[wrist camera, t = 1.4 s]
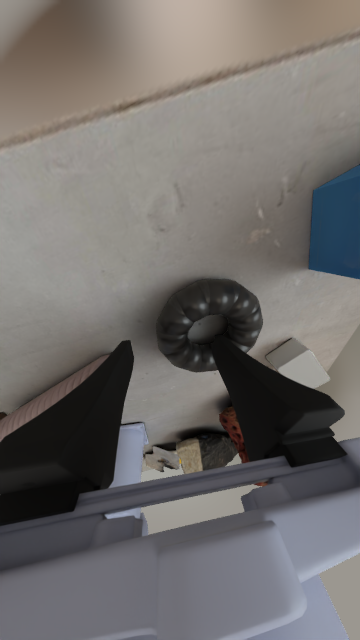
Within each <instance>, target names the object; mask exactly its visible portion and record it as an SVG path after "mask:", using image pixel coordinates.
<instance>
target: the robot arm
mask: <svg viewBox="0 0 360 640" xmlns="http://www.w3.org/2000/svg"><path fill="white" fill-rule="evenodd" d="M212 355H213V358H214V361H215V364H216V366H217V368H218V371H219V373H220V375H221V377H222V379H223V381H224V383H225V386H226V388H227V390H228V393H229V396H230V398H231V401H232V404H233V407H234V410H235V413H236V416H237V419H238V423H239V426H240V429H241V433H242V436H243V440H244V444H245V447H246V451H247V455H248V459H249V461H250V462H248V463H242V464H237V465H232V466H227V467H221V468H215V469H210V470H205V471H199V472H194V473H189V474H183V475H178V476H172V477H168V478H162V479H156V480H151V481H146V482H141V471H142V458H143V446H144V445H146V444H148V438H147V434H146V430H145V426H144V423H137V424H130V425H122V426H120V425H121V419H122V413H123V407H124V401H125V397H126V393H127V389H128V386H129V382H130V378H131V374H132V370H133V363H134V355H133V351H132V346H131V341H130V340H125V341H122V342H121V343H120V344H119V345H118V346H117V347H116V349H115V350H114V351H113V352H112V353H111V354H110V355H109V357H108V358H107V359H106V360H105V361H104V362H103V363H102V364H101V365H100V366H99V367H98V368H97V369H96V370H95V371H94V372H93V373H92V374H91V375H90V376H89V377H88V378H87V379H85V380H84V381H83V382H82V383H81V384H80V385H78V386H77V387H76V388H75V389H73V390H72V391H71V392H70V393H68V394H67V395H66V396H64V397H63V398H62V399H60V400H59V401H58V402H56V403H55V404H54V405H52V406H51V407H49V408H48V409H47V410H45V411H44V412H42V413H41V414H39V415H38V416H36V417H35V418H33V419H32V420H30V421H29V422H27V423H25V424H24V425H22V426H21V427H19V428H18V429H16V430H15V431H13V432H11V433H10V434H8V435H7V436H5V437H4V438H3V439H2V440H1V442H0V640H349V638H348V636H347V633H346V631H345V629H344V627H343V625H342V623H341V621H340V619H339V616H338V614H337V613H336V610H335V608H334V606H333V604H332V602H331V600H330V597H329V595H328V593H327V591H326V589H325V587H324V585H323V583H322V581H321V579H320V576H319V573H321V572H323V571H325V570H327V569H329V568H331V567H333V566H335V565H337V564H339V563H341V562H343V561H345V560H347V559H349V558H351V557H353V556H355V555H357V554H359V553H360V438H354V439H348V440H343V441H340V442H337V441H336V440H335V439H334V438H333V437H332V436H334V435H335V434H334V432H333V431H332V430H331V429H330V428H329V427H330V426H331V425H332V424H334V423H335V422H337V421H338V420H340V419H341V418H342V417H343V416H344V414H345V412H344V410H343V409H342V408H341V407H340V406H339V405H338V404H337V403H336V402H335V401H334V400H333V399H332V398H331V397H330V396H328V395H327V394H325V393H322V392H319V391H317V390H315V389H312V388H310V387H307V386H305V385H303V384H300V383H298V382H296V381H294V380H291V379H289V378H287V377H285V376H283V375H281V374H279V373H278V372H276V371H274V370H272V369H270V368H268V367H267V366H265V365H263V364H262V363H260V362H258V361H257V360H255V359H254V358H252V357H251V356H249V355H248V354H246V353H245V352H244V351H242V350H241V349H240V348H238V347H237V346H236V345H234V344H233V343H232V342H231V341H229V340H228V339H227V338H226V337H224V336H223V335H215V339H214V344H213V348H212ZM265 481H268V485H266V486H263V487H259V488H256V489H253V490H252V491H251V492H249V493H248V494H246V495H243V496H241V501H242V504H243V507H244V510H245V512H243V513H238V514H234V515H230V516H225V517H222V518H217V519H212V520H208V521H204V522H200V523H196V524H192V525H187V526H183V527H179V528H175V529H171V530H166V531H162V532H158V533H154V534H150V535H148V525H147V521H146V518H145V516H144V514H143V513H141V507H145V506H150V505H155V504H159V503H164V502H169V501H174V500H179V499H183V498H188V497H193V496H198V495H202V494H208V493H212V492H217V491H222V490H227V489H231V488H236V487H241V486H246V485H251V484H256V483H260V482H265Z"/></svg>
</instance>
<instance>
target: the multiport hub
mask: <svg viewBox="0 0 360 640" xmlns="http://www.w3.org/2000/svg"><path fill="white" fill-rule="evenodd" d="M266 358H267V359H268V361H269V362H270V363H271V364H272V365H273V366H274V367H275V368H276V369H277V371H278V372H280V373H281V374H282V375H283V376H285V377H287V378H289V379H291V380H294V381H296V382H298V383H300V384H303V385H305V386H307V387H310V388H312V389H314V388H316V387H318V386H320V385H321V384H324V383H326V382H328V381H329V380H330V377H329V376H328V374H327V373H326V372H325V370H324V369H323V367H322V366H321V364H320V363H319V362H318V360H317V359H316V357H315V356H314V354H313V353H312V351H311V350H309V349H308V348H307V347H305V346H304V345H303V344H301V343H300V342H299V341H297V340H296V339H294V338H293V339H290V340H289V341H287V342H286V343H284V344H283V345H281V346H280V347H278V348H277V349H275V350H274V351H272V352H271V353H269V354H268V355H267V356H266Z"/></svg>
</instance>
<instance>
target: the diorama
mask: <svg viewBox="0 0 360 640" xmlns="http://www.w3.org/2000/svg"><path fill="white" fill-rule="evenodd" d="M152 450H153V452H154V453H153V454H152V455H150V454H145V456H146V466H148V467H151V468H154V469H156V470H158V471H160V472H164V470H163V466H165V467H167V468H170V469H179V461H180V458H179V456H178V455H177V454H174V453H171V452H168V451H166V450H163V449H160V448H157V447H155V446H153V449H152Z"/></svg>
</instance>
